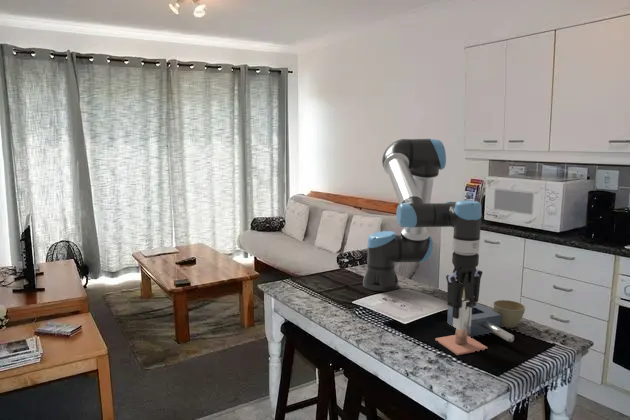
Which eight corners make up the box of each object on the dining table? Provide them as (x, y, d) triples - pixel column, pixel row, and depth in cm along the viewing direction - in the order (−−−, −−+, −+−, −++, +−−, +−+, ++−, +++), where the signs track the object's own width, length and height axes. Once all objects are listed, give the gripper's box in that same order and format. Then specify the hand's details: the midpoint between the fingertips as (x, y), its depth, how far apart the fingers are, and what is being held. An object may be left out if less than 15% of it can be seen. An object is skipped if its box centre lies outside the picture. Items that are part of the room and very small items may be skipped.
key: (465, 348, 139) (468, 304, 137) (448, 339, 145) (450, 297, 143) (474, 346, 141) (476, 302, 139) (456, 337, 147) (458, 295, 145)
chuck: (447, 323, 159) (447, 307, 158) (475, 318, 163) (476, 302, 162) (494, 352, 138) (495, 333, 137) (525, 346, 142) (527, 327, 141)
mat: (435, 340, 146) (435, 338, 146) (463, 334, 150) (463, 333, 150) (457, 355, 136) (457, 353, 136) (487, 349, 140) (487, 347, 140)
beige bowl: (527, 331, 153) (528, 311, 151) (495, 329, 154) (496, 309, 153) (520, 320, 162) (521, 300, 161) (490, 318, 164) (491, 298, 163)
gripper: (455, 258, 131) (451, 336, 135) (494, 251, 139) (489, 324, 143) (436, 253, 138) (433, 327, 141) (474, 246, 146) (470, 316, 150)
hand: (461, 326), depth 142 cm, fingers closed on key, 3 cm apart
